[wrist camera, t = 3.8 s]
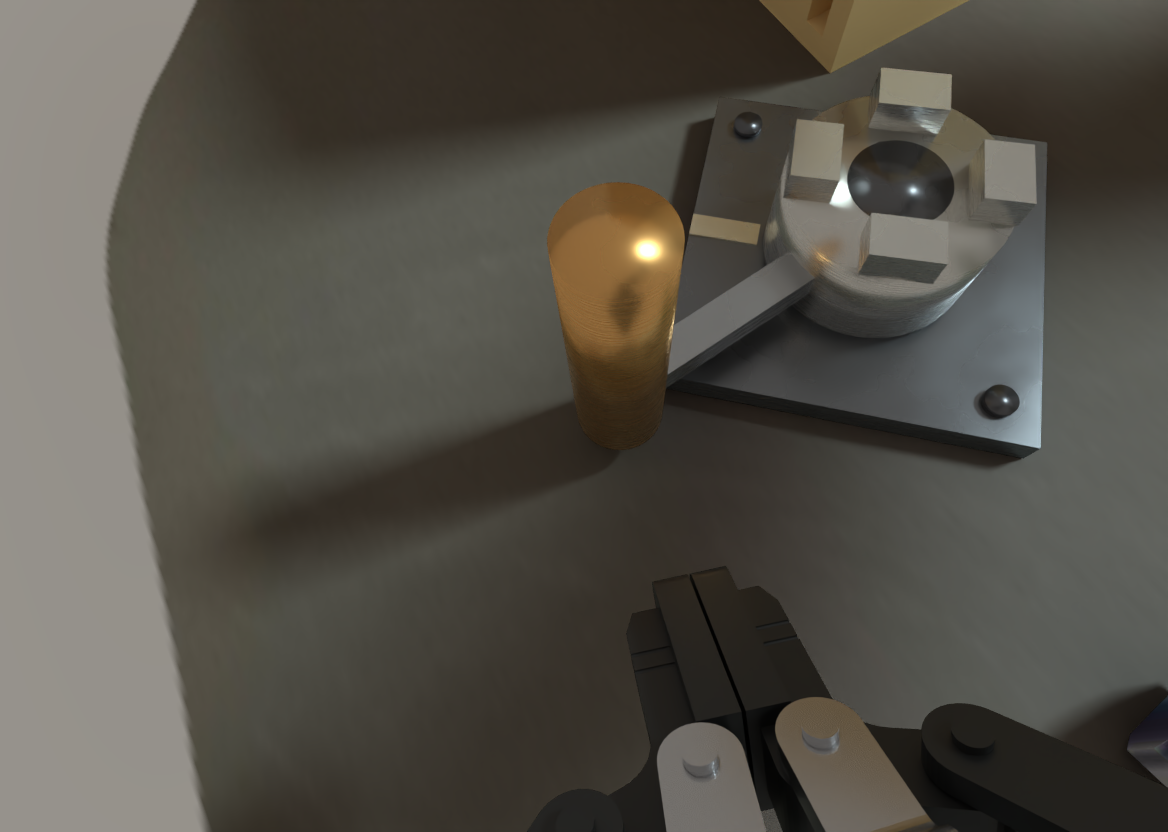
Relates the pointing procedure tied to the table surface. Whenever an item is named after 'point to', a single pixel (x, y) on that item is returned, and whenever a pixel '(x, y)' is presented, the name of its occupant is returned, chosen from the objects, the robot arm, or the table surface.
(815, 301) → the crank handle
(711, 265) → the hub plate
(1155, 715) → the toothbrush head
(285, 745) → the table surface
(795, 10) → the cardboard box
